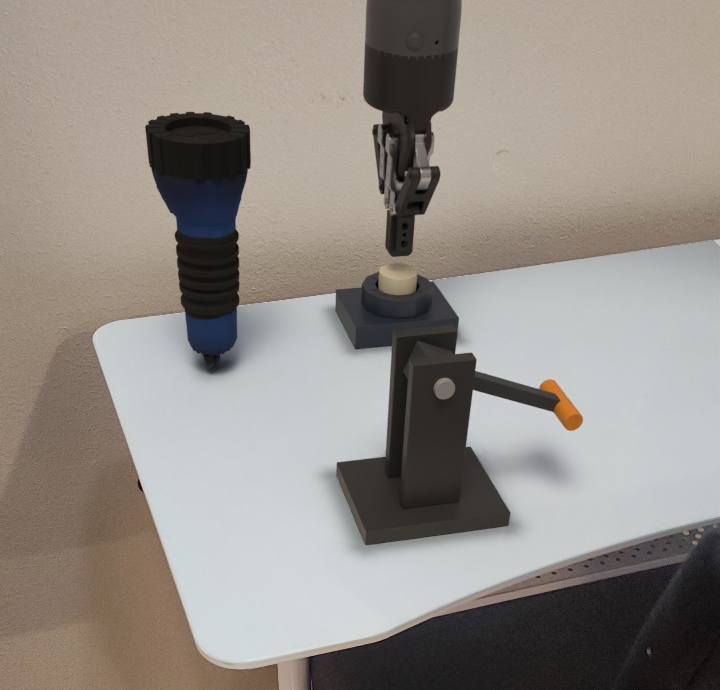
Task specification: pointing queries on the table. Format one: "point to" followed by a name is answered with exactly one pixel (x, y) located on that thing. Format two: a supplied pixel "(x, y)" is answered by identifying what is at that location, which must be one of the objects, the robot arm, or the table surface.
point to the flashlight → (203, 217)
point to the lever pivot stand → (424, 451)
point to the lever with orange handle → (514, 389)
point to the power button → (397, 279)
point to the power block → (390, 311)
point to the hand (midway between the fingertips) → (398, 252)
